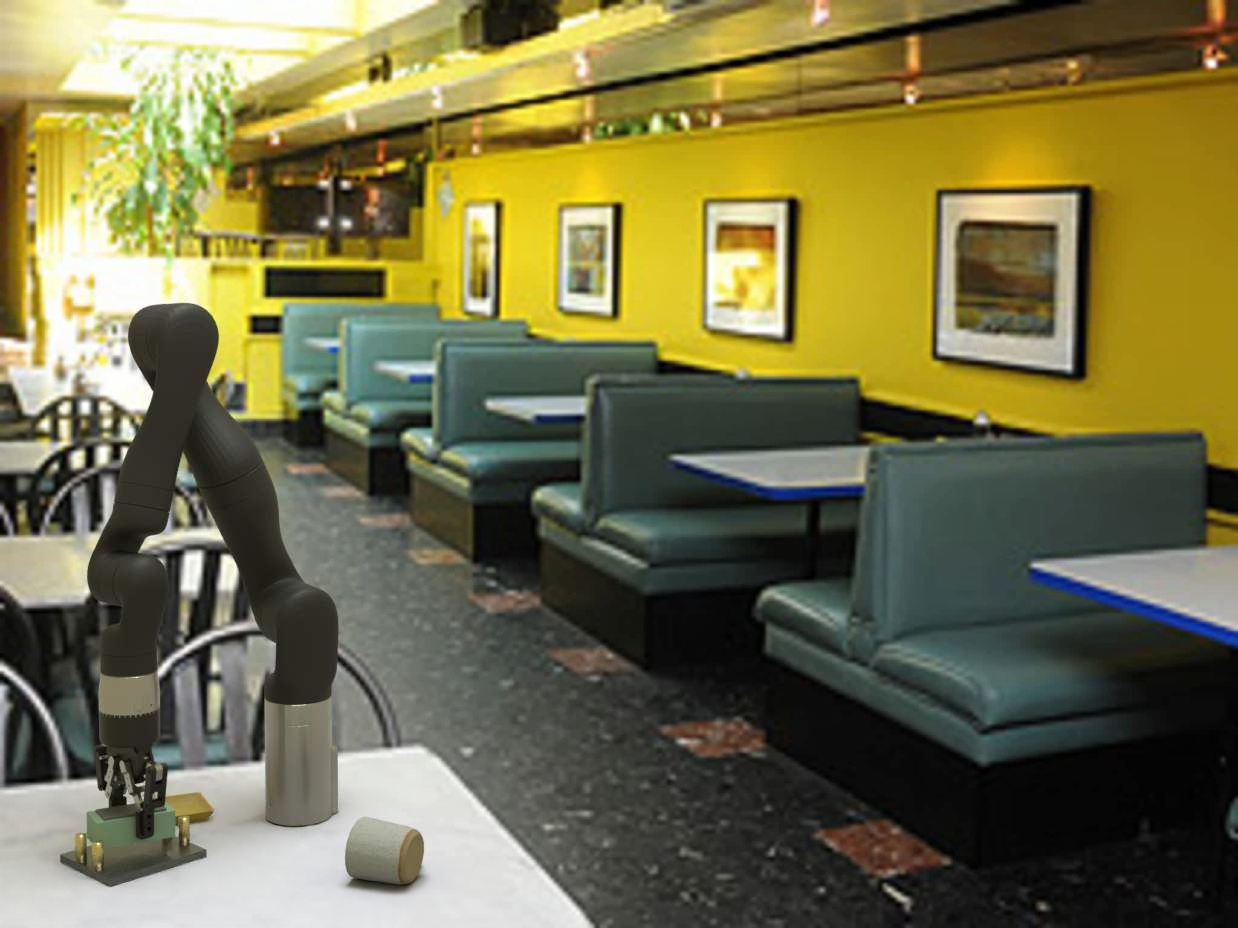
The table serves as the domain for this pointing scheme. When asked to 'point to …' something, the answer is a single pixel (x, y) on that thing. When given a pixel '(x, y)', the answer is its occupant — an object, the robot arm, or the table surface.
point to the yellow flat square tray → (190, 806)
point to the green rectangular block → (127, 825)
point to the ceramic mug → (383, 851)
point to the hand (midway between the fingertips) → (131, 830)
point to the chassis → (132, 856)
